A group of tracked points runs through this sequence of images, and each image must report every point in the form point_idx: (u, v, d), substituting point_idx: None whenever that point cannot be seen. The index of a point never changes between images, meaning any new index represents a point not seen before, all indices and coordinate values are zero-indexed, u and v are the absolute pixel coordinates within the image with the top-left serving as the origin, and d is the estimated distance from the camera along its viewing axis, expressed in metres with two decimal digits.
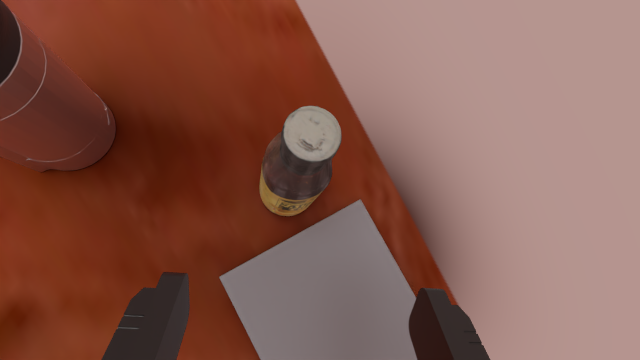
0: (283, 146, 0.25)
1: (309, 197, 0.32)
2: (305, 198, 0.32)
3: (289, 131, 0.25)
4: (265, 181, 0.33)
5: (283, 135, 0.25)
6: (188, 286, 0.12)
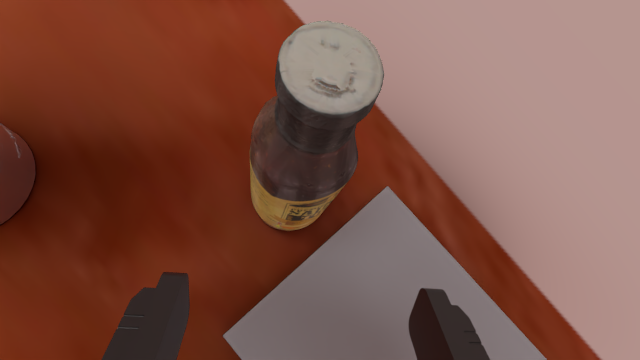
0: (284, 101, 0.14)
1: (334, 191, 0.20)
2: (328, 194, 0.20)
3: (290, 69, 0.13)
4: (260, 182, 0.21)
5: (281, 79, 0.13)
6: (188, 286, 0.12)
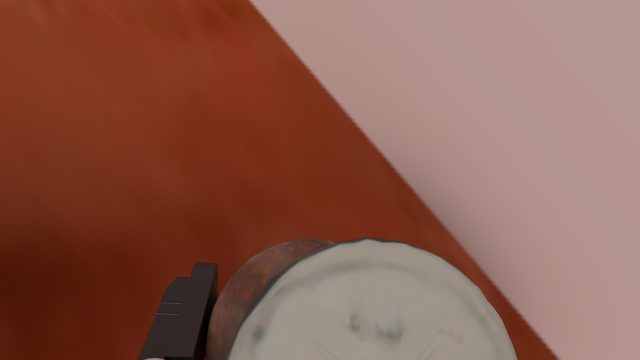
0: None
1: None
2: None
3: None
4: None
5: None
6: (217, 276, 0.13)
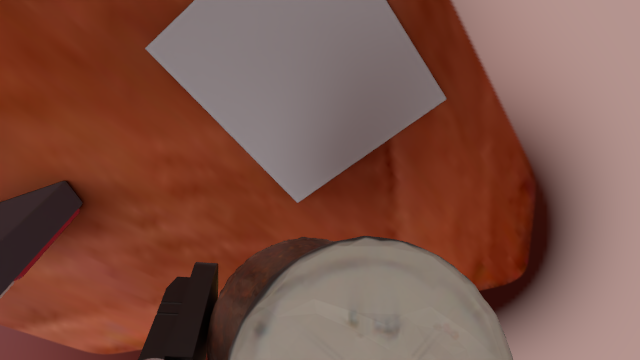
0: None
1: None
2: None
3: None
4: None
5: None
6: None
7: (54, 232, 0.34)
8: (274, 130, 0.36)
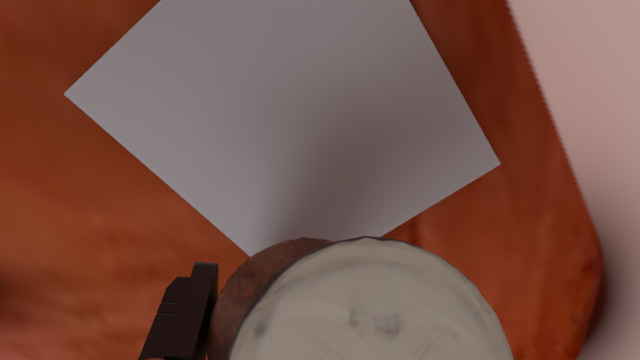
0: None
1: None
2: None
3: None
4: None
5: None
6: None
7: None
8: (258, 203, 0.25)
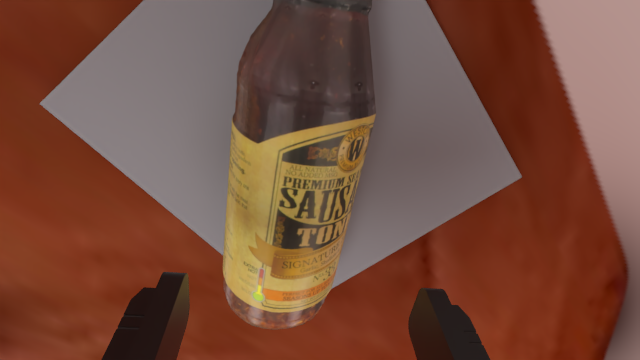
0: None
1: (348, 117, 0.14)
2: (340, 118, 0.14)
3: None
4: (243, 130, 0.15)
5: None
6: (188, 286, 0.12)
7: None
8: None
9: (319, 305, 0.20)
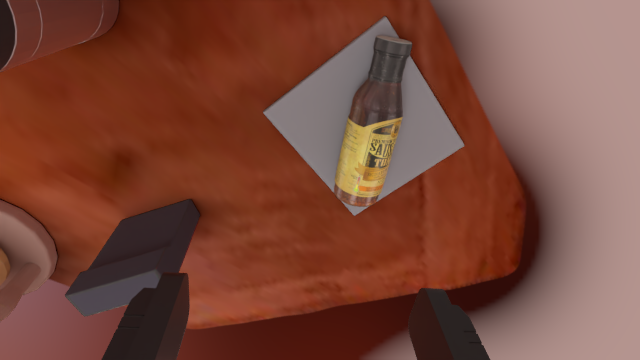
0: (379, 46, 0.39)
1: (395, 117, 0.42)
2: (393, 118, 0.41)
3: (381, 37, 0.40)
4: (357, 123, 0.42)
5: (378, 38, 0.39)
6: (188, 286, 0.12)
7: (191, 236, 0.49)
8: None
9: (377, 198, 0.47)
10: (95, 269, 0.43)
